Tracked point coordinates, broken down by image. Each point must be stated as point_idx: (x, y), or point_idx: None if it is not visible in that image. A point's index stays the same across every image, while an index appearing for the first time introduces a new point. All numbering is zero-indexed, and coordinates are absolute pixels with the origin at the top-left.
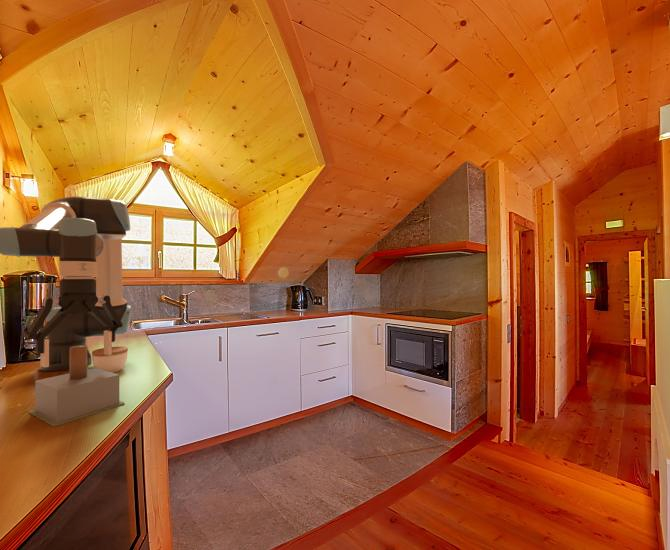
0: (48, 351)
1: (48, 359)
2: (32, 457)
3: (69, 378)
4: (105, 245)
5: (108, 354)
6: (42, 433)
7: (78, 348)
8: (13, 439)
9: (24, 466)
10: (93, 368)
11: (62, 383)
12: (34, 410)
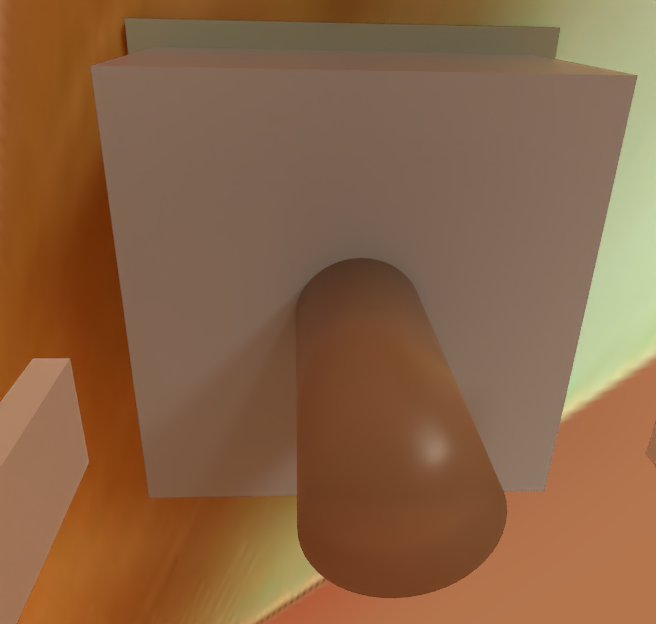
0: (20, 604)
1: (58, 521)
2: (51, 581)
3: (306, 279)
4: None
5: (651, 456)
6: (115, 415)
7: (359, 589)
8: (14, 380)
9: (24, 615)
10: (608, 89)
11: (218, 381)
12: (151, 34)
